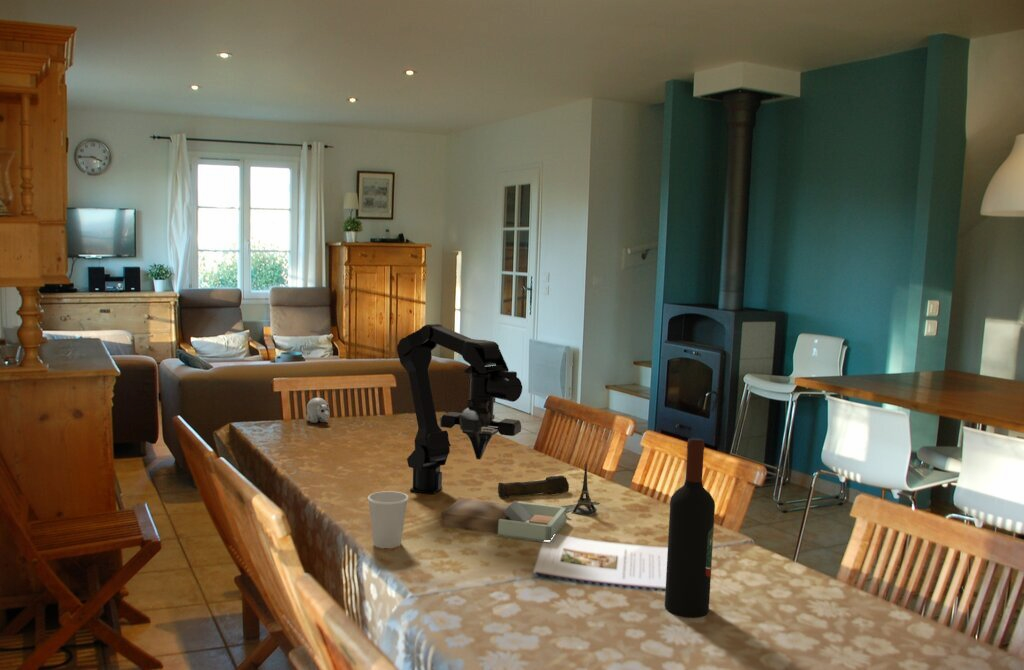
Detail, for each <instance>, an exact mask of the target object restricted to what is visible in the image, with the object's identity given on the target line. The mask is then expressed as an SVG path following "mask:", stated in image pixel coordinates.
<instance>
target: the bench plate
mask: <svg viewBox="0 0 1024 670" xmlns="http://www.w3.org/2000/svg"><path fill="white" fill-rule="evenodd" d="M510 505H511V503H510V504H509V503H507V504H506V503H503V502H501V503H500V502H493V501H492V502H491V501H485V500H477V499H476V500H475V499H469V498H459V499H458V500H456V501H455V502H454V503H452V504H451V505H450V506H449V507H447V508H446V509H444V510H443V511H442V512H441V519H440V526H441V527H446V528H453V529H455V528H456V529H461V530H469V531H474V532H475V531H476V532H482V533H484V532H485V533H491V534H497V535H498V522H499V519H505V520H511V519H510V518H509V517H508V516H507V515H506V514H505V513H504V511H505V510H506V509H507V508H508V507H509V506H510Z"/></svg>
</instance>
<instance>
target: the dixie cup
mask: <svg viewBox="0 0 1024 670" xmlns="http://www.w3.org/2000/svg"><path fill="white" fill-rule="evenodd" d="M408 500H409V495H408V494H406V493H404V492H401V491H395V490H394V491H393V490H389V491H388V490H385V491H378V492H373V493H371V494H369V495H368V496H367V501H368V505H369V514H370V515H369V516H370V524H371V526H370V527H371V535H372V545H373V547H375V546H376V548H378V547H379V549H384V548H389V549H395V548H397V546H398V547H400V546H401V544H402V540H403V532H404V524H405V519H406V511H407V506H408ZM394 547H395V548H394Z"/></svg>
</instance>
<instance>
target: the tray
mask: <svg viewBox="0 0 1024 670" xmlns="http://www.w3.org/2000/svg"><path fill="white" fill-rule="evenodd" d="M517 502H518V503H519V504H520V505H521V506H522V507H523V508H524V509H525V510H526V511H527V512H528V513H529V514H530V515H531V517H530V518H529V519H528V520H527V521H526V522H520V521H513V520H505V519H499V522H498V534H497V536H498V537H503V538H509V539H510V538H511V539H517V540H518V539H519V540H525V541H532V542H539V543H544V542H543V541H544V540H551V538H552V537H553V535H554V534H556V535H558V534H559V532H560V530H562V528H563V527H564V526H565V524H566V523H567V519H566V516H567V513H566V512H567V507H561V506H560V505H559V506H558V505H549V504H541V503H533V502H525V501H517ZM534 515H543V516H551V517H553V518H552V520H551V521H550V522H549V523H548V524H547V525H544V524H536V523H529V521H530V519H531V518H532V517H533V516H534Z"/></svg>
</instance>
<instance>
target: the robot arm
mask: <svg viewBox="0 0 1024 670" xmlns="http://www.w3.org/2000/svg"><path fill="white" fill-rule="evenodd" d="M438 345H439V346H441V347H443V348H445V349H447V350H450V351H453V352H455V353H456V354H459V355H460V356H461V357H462V359H463V361H465V362H466V363H467V364H469V367H467V368H466V369H465V370H464V371H463V372H464V374H467V375H470V385H469V386H470V387H469V398H468V399H467V402H466V407H465V408H464V409H463V410H462V412H457V411H456V412H455V411H449V412H446V413H444V414H443V415H442V416H441V417H440V420H439V423H438V418H437V413H436V408H435V407H436V406H435V403H434V402H435V401H434V396H433V391H432V386H431V379H430V374H429V367H430V365H431V361H432V356H433V355H432V351H433V350H434V349H436V348H437V347H438ZM396 351H397V352H396V353H397V355H398V359H399V363H400V365H402V367H403V369H405V370H406V372H407V374H408V378H409V383H410V388H411V395H412V399H413V405H414V411H415V416H416V421H417V423H416V424H417V428H418V429H417V431H416V434H415V438H414V450H413V451H412V452H411V453H410V455H409V456H408V457H407V458H406V460H407V462H406V463H407V466H408V468H411V469H412V487H411V488H410V489H409V491H410V492H415V493H424V494H431V495H433V494H436V493H437V492H438V491H440V490H441V489H443V484H442V483H443V472H442V471H441V466H445V465H446V462H447V460H448V455H450V451H451V449H450V447H451V446H452V444H451V443H450V439H449V432H448V431H447V430H443V429H442V428H447V429H452V428H454V427H455V426H456V425H457V426H460V430H461V431H462V433H463V434H465V435H466V436H467V437H468V438H469V440H470V443H471V446H472V449H473V451H474V455H475V458H476V460H481V459H482V457H483V456H484V453H485V450H486V448H487V447H488V445H489V442H490V441H491V439H492V436H495V435H496V434H497V433H499V434H500V435H502V436H508V437H514V436H516V435H518V434H519V433H521V432H522V423H521V421H520V420H519V419H513V418H504V419H502V420H501V421H496V420H495V416H496V415H495V414H494V404H495V403H496V399H499V400H503V401H506V402H507V401H508V402H512V403H513V402H516V401H518V400H519V398H520V397H521V395H522V392H523V385H522V381H521V379H520V378H519V377H518V373H517V371H513V370H511V371H509V366H508V365H507V363H506V361H505V358H504V356H503V354H502V351H501V350H500V345H499V344H498V342H495V341H492V340H486V339H478V338H477V339H476V338H471V337H468V336H466V335H463V334H461V333H459V332H456V331H454V330H451V329H449V328H447V327H444V326H443V325H442V324H439V323H436V324H435V323H428V324H425V325H423V326H422V327H421V328H419V329H418V330H415V331H414V332H412V333H410V334H408V335H407V336H405V337H402V338H401V339H400V340H399V341H398V344H397V345H396Z"/></svg>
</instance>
